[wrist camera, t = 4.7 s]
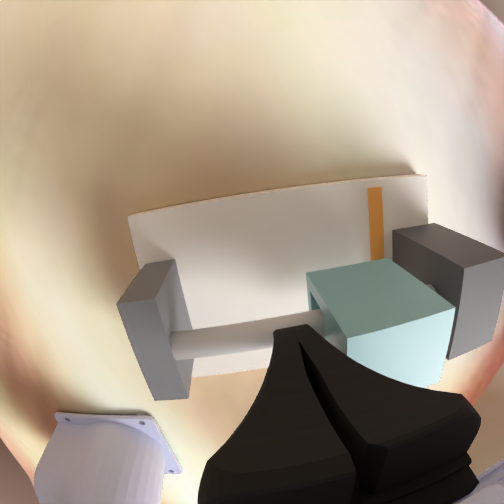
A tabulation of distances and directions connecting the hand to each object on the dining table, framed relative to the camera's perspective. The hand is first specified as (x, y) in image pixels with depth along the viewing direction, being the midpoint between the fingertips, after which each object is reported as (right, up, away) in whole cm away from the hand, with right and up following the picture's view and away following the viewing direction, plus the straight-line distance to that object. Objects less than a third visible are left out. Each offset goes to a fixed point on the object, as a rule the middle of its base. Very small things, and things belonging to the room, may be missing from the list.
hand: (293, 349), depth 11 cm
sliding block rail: (+1, +2, +6) cm, 7 cm away
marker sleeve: (+3, +1, +3) cm, 4 cm away
